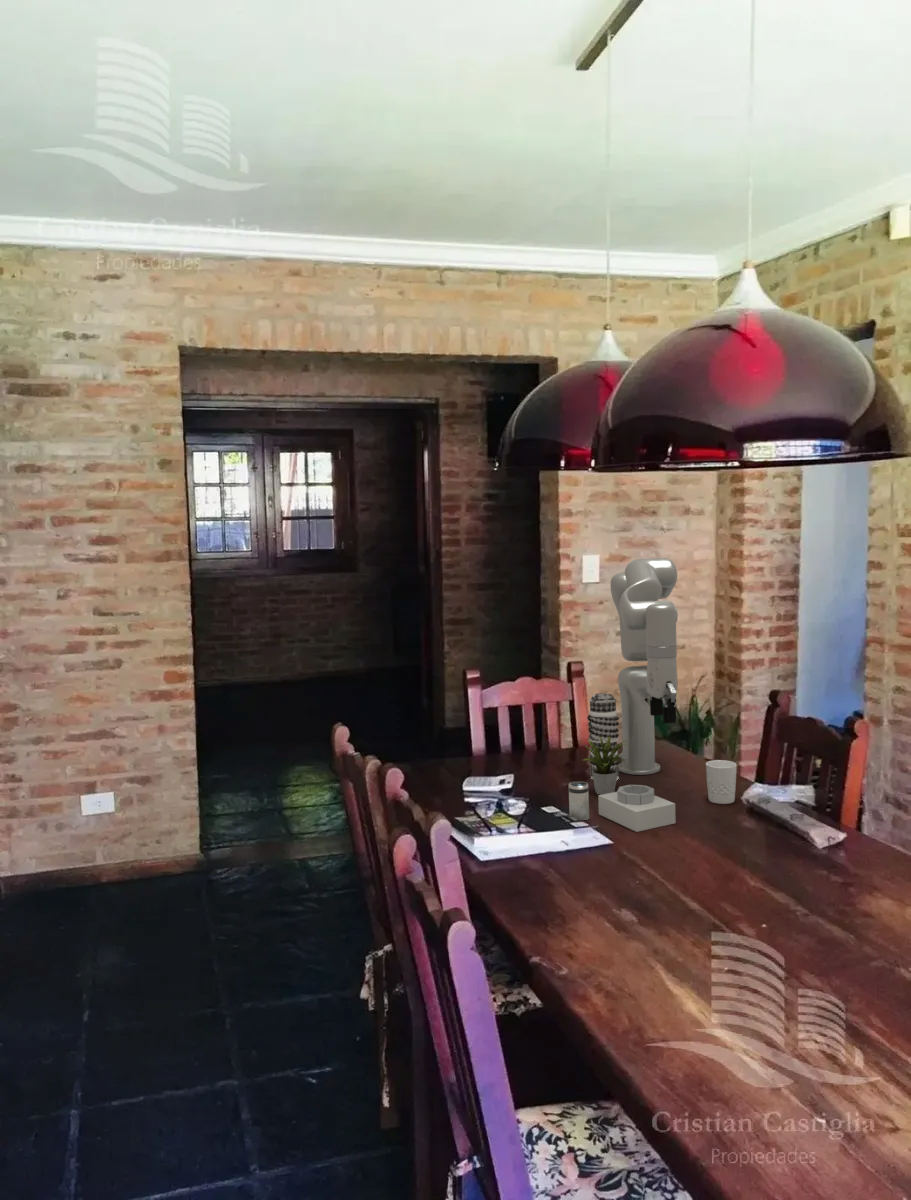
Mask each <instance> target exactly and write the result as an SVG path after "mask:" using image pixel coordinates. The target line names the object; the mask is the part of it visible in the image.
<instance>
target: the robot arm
mask: <svg viewBox="0 0 911 1200" xmlns="http://www.w3.org/2000/svg"><path fill="white" fill-rule="evenodd" d="M677 581H678V570H677V566H676V565H675V563H674V561H672V560H671V558H666V557H664V558H663V557H662V558H661V557H659V558H640V559H634V560H632V561H630V562H628V564H627V565H626V567H625V569H624V572H619V573H616V574H614V575H613V576H612V577H611V579H610V594H611V597H612V601H613V604H614V605H615V609H616V610H617V614H618V618H619V631H620V632H619V633H620V648H621V655H622V657H623V659H624V660H625V661H627V662H647V664H646V665H634V666H627V667H624V668H622V669H621V670H620V671H619V673H618V674H617V683H618V684H617V685H618V689H619V690H618V691H619V695H620V702H621V703H620V705H621V729H622V730H621V731H622V734H621V735H622V742H623V741H626V740H628V741H626V742H624V743H622V744H629V745H622V750H621V753H622V754H620V753H618V754H620V755H619V757H620V758H619V759H621V760H623V759H626V760H624V761H625V762H624V761H621V762H619V763H618V764H617V765H618V766H619V770H618V771H619V772H621V773H623V774H629V775H637V776H641V775H642V776H643V775H645V776H646V775H647V776H648V775H653V774H657V773H658V772H660V771H661V765H660V764H659V763H657V762H656V755H655V754H656V752H655V751H656V749H655V748H656V744H655V743H656V742H655V741H656V740H655V717H656V716H662V723H664V724H676V723H677V711H676V710H677V692H678V687H679V686H678V681H679V680H678V669H677V668H678V666H677V659H678V655H677V654H678V651H677V648H678V647H677V622H678V616H679V614H678V607H677V606H676V605H675V604H674V602H673V601H670V600H665V599H668V597H669V596H670V595H671V593H672V591H673V590H674V588H675V586H676V584H677ZM645 699H650V700H649V703H648V702H647V701H646V700H645Z"/></svg>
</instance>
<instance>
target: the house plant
mask: <svg viewBox="0 0 911 1200" xmlns="http://www.w3.org/2000/svg"><path fill="white" fill-rule="evenodd" d="M599 737H600V736H599ZM586 740H587V742H588V744H590V747H589V746H587V745H585V744H584V746H585V747H586V748H587V749H588V750H589V751H590V753H591V752H592V754H593V755H594V758H592V757H591V758H590V757H588V758H583V761H589V762H590V761H592V762H593V763H594V764H595V765H596V767H597V768H596V769H593V770H592V775H593V780H594V781H593V783H594V784H593V785H594V790H595V794H596V793H597V794H596V795H598V794H600V795H603V794H608V793H613V792H616V785H617V781H616V779H617V770H616V769H613V768H610V767H611V765H612V764H613V763H614V762H615V761H619V762H618V764H620V762H622V761H624V760H626V759H623V760H622V758H620V757H618V756H619V755H620V754H622V752H621V753H620V754H619V753H618V755H614V754H615V753H616V751H618V752H619V751H620V748H623V745H629V744H623V743H624V742H626V741H628V740H626V741H623V740H622V741H620V742H619V743H617V746H616V747H615V748H613V749H611V750H609V749H610V746H611V743H610V740H611V737H610V736H608V740H607V742H606V744H605V747H604V744H603V741H602V739H601V737H600V740H601V746H602V754H603V760H602V758H601V754H600V752H599V748H598V746H597V748H596V746H595V745H594V744H593V743H592V742H591V741H590V740H589V738H586ZM591 747H592V749H593V751H592V750H591ZM612 750H613V751H612ZM611 751H612V752H611ZM609 752H611V754H610V755H609V756H608V753H609ZM612 754H613V755H612ZM613 756H615V757H613ZM610 758H611V759H610ZM609 760H610V761H609ZM608 762H609V763H608ZM624 762H625V761H624Z"/></svg>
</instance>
